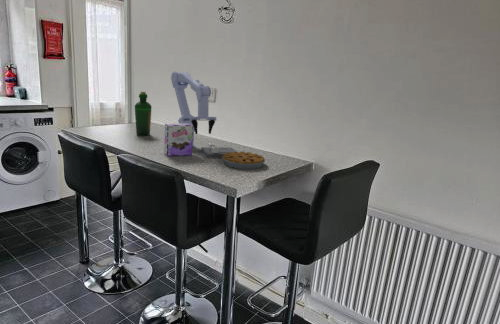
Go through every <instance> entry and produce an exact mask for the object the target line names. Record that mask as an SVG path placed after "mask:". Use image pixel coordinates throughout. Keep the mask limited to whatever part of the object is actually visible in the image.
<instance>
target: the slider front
mask: <svg viewBox="0 0 500 324" xmlns="http://www.w3.org/2000/svg"><path fill="white" fill-rule="evenodd" d="M218 147H219V146H216V145H215V146H214V147H212V148H211V151H212V152H213V153H219V148H218Z"/></svg>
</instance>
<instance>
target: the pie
mask: <svg viewBox="0 0 500 324" xmlns="http://www.w3.org/2000/svg"><path fill="white" fill-rule="evenodd" d="M221 159H222V160H223V162H224V165H226V166H228V167H229V166H230V168H233V167H234V168H233V169H238V168H240V169H239V170H253V169H259V168H262V167H263V166H262V165H263V164H264V163H265V161H266V159H265V157H264V156H262V155H260V154H257V153H252V152H249V151H247V152H245V151H239V152H238V151H237V152H232V153H230V152H227V153H226V154H225V153H224V154H223V156H222V158H221Z"/></svg>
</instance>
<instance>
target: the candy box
mask: <svg viewBox="0 0 500 324" xmlns="http://www.w3.org/2000/svg"><path fill="white" fill-rule="evenodd" d="M163 140H164V141H163V143H164V144H163V154H164V155H165V156H166V157H177V156H178V157H180V156H193V147H192V141H193V125H191V124H179V123H166V122H165V123H164V139H163Z"/></svg>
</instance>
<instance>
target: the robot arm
mask: <svg viewBox="0 0 500 324" xmlns="http://www.w3.org/2000/svg"><path fill="white" fill-rule="evenodd" d="M170 76H171V77H170V80H171V85H172V88H174V91H175V95H176V100H177V102H178V108H179V111H180V112H179V113H180V115H181V116H180V117H179V118H178V120H177V121H178V122H177V123H178V124H191V125H193V141H192V148H196V146H195V134H196V135H198V125H199V123H198V122H199V120H207V121H208V123H207V124H208V134H209V135H211V134H212V130H213V127H214V125H215V123H216V121H217V117H216V116H209V102H210V100H209V99H210V98H209V97H211V94H212V91H211V87H210V85H209V86H208V85H206V86H205V85H204V84H203V83H202V82H200V80H199V79H195V80H194V78H193V77H192V76H191V73H189V72H187V71H186V72H185V71H184V72H181V71H173V72H172V73H171V75H170ZM188 86H190V89H191V90H193V91H194V92H195V95H196V100H197V116H195V115H192V114H191V111H190V108H189V104H188V100H187V99H188V98H187V96H186V93H185V89H187V88H188Z"/></svg>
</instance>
